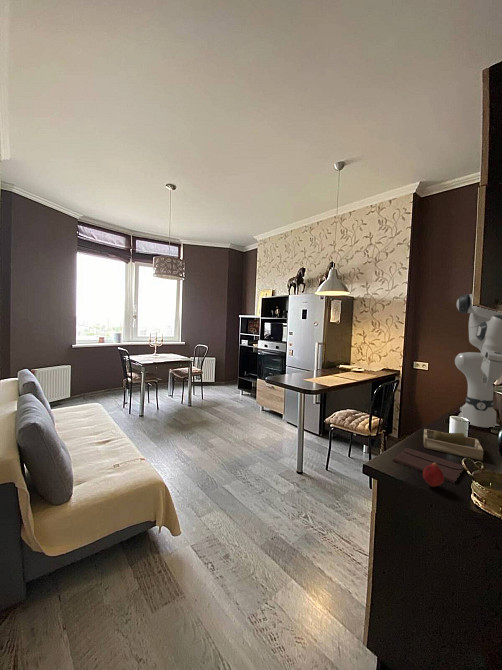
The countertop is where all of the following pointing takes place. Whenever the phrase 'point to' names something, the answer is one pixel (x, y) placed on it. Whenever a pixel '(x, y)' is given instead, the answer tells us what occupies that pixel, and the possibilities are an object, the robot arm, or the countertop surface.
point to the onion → (433, 475)
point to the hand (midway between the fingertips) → (486, 385)
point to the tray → (454, 446)
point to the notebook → (429, 463)
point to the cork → (450, 437)
